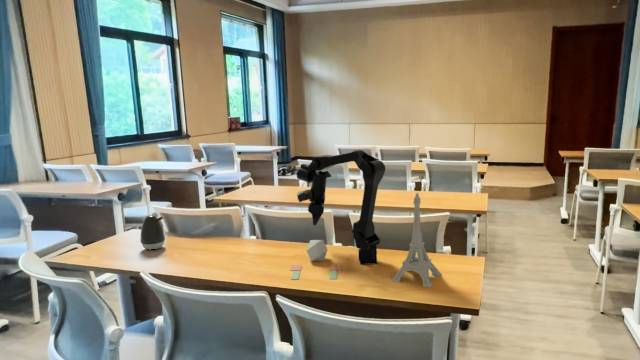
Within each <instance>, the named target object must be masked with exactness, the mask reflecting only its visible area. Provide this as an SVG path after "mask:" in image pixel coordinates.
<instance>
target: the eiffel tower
mask: <svg viewBox="0 0 640 360" xmlns="http://www.w3.org/2000/svg"><path fill="white" fill-rule="evenodd" d="M421 203H422V202H421V198H420V195H419V192H415V196H414V198H413V202H412V204H413V205H414V213H413V214H414V215H413V225H412V226H413V227H412V235H411V236H412V237H411V241H410V243H409V247H410V248H409V249H408V252H407V256H406V258H405V260H404V261H402V262H401V264H402V266H401V267H400V269H399V270H398V271H397V272H396V274H395V276H394V277H393V278H392V279H391V282H397V283H400V282H401V281H402V280H403V278H402V277H403V275H404V274H405V273H406V272H411V271H414V272H416V273H417V274H419V275H420V277H421V280H422V286H421V287H425V288H430V289H431V287H433V283H432V281H431V278H430V275H429V274H430V273H429V270H430V272H431V276H433V277H440V276H441V275H442V272H440V271H439V270H438V268H437V267H436V266H435V265H434V263H433V262H432V258H429V256H428V253H427V251H426V249H425V246H424V245H425V242H423V233H422V225H421V211H420V210H421V209H420V204H421ZM416 255H417V256H416Z"/></svg>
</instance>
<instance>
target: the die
mask: <svg viewBox="0 0 640 360" xmlns="http://www.w3.org/2000/svg"><path fill="white" fill-rule="evenodd" d="M307 245H308V246H307V249H306V253H307V255H308V258H309V259H310V262H323V261H325V258H326V256H327V252H328V248H327V245H326V243H325V241H324V239H310V240H309V242H308V244H307Z"/></svg>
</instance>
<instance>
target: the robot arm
mask: <svg viewBox="0 0 640 360" xmlns="http://www.w3.org/2000/svg"><path fill="white" fill-rule="evenodd" d="M351 162H354V163H355V164H356V166H357V168H358V169H359V170H360V171H361V172H362V178H363V182H364V189H363V195H362V196H363V197H362V201H361V202H362V203H361V208H360V209H361V210H360V215H359V219H358V220H357V221H356V222H353V224H352V231H351V233H352V239H354V242H355V245H356V248H357V249H358V261H359V263H360V265H378V258H377V257H378V254H377V253H378V251H377V249H378V248H377V246H378V245H380V243H381V239H380V237H379V236H378V234H376V232H375V229H376V228H375V225H374V221H373V220H374V219H373V218H374V212H375V206H376V200H377V194H378V188H379V187H378V186H379V185H380V183H381V181H382V179H383V178H384V176H385V172H386V165H385V164H384V162H383V161H381V160H378V159H377V158H376V157H375V156H372V155H370V154H369V153H367V152H365V151H364V150H363V149H357V150H353V151H351V152H346V153H340V154H336V155H335V154H334V155H331V154H326V155H325V154H323V155H318V156H317V155H316V156H314V157H312V159H311V162H310V163H309V165H308V164H306V163H303V164H300V167H299V168H298V170H297V172H296V178H297V180H299V181H303V182H306V183H307V184H308V183H309V184H311V187H310V189H305V190H301V191H298V192H297V193H296V197H297V200H298V203H301V202H306V201H308V200H309V201H308V202H310V203H309V204H308V208H307V212H308V213H309V214H311V217H312V225H313V226H317V224H318V223H319V221H320V219H321V217H322V216H323V214H324V211H325V205H324V204H325V201H326V188H327V179H328V178H332V174H331V173H330V172H329V171H328V169H330V168H332V167H334V166H337V165H340V164H344V163H345V164H346V163H351ZM325 170H326V171H325Z"/></svg>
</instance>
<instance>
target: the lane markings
mask: <svg viewBox="0 0 640 360" xmlns="http://www.w3.org/2000/svg"><path fill="white" fill-rule="evenodd" d="M302 268H303V264H291V266H290V269H289V271H291V272H292V276H291V280H295V281H296V280H299V279H300V278H299V277H300V275H301V270H302ZM329 268H330V269H329V280H337V277H338V276H337V275H338V271H342V264H340V263H339V264H338V263H337V264H336V263H333V264H330V267H329Z"/></svg>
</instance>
